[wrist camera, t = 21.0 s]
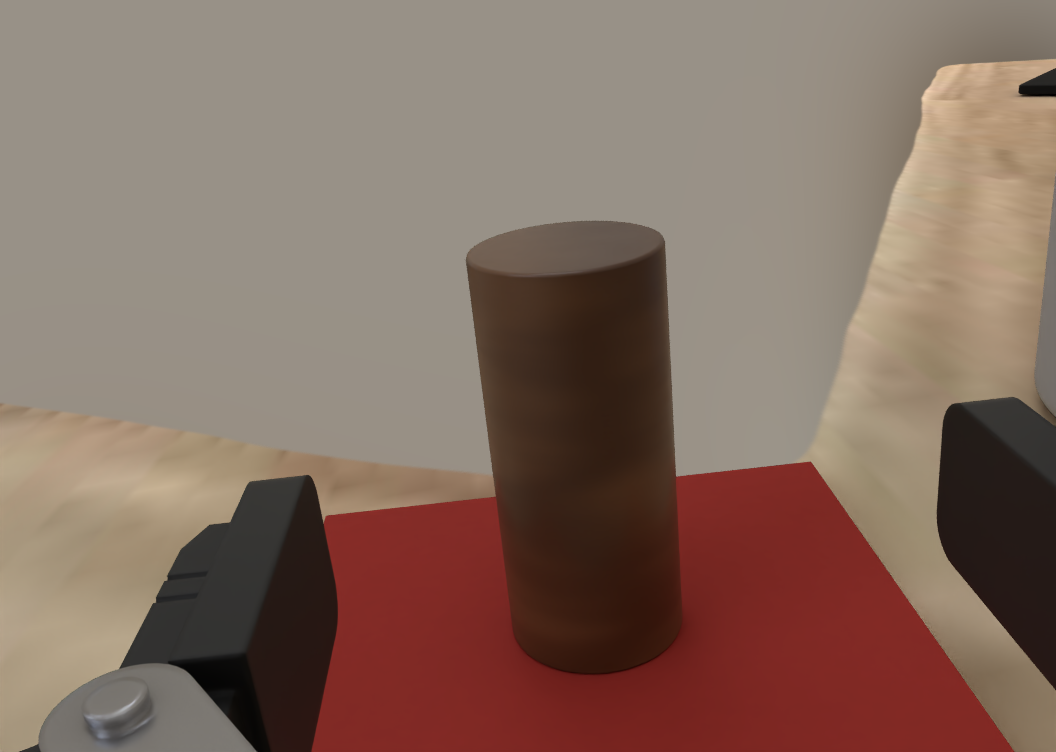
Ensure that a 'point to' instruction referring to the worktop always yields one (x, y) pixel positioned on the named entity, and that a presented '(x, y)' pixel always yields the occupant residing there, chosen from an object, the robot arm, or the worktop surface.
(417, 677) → the red pad
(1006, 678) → the worktop surface
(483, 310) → the roller
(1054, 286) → the gray pitcher
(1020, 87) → the cell phone
